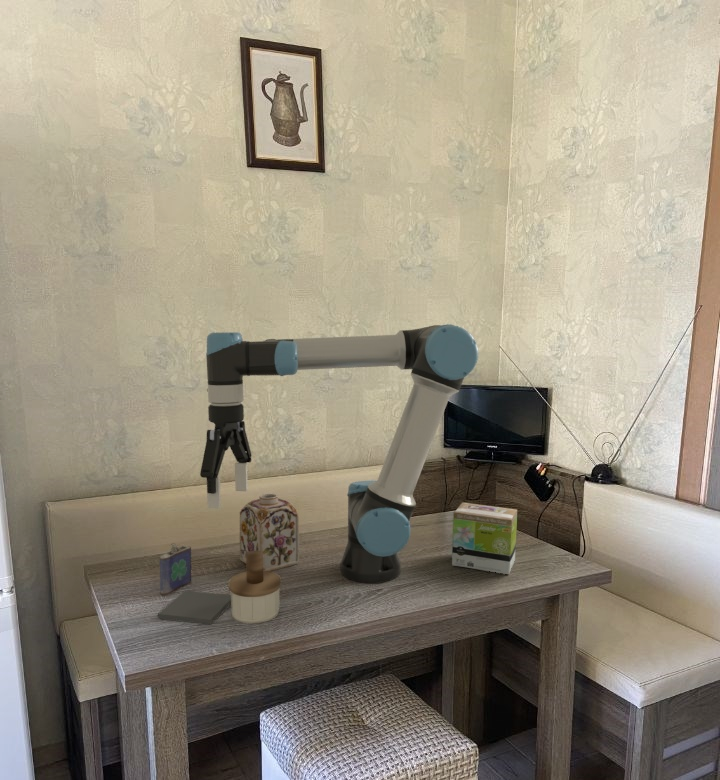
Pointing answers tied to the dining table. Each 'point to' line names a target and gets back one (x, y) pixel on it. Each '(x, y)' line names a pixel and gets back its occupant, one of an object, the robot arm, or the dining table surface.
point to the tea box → (484, 537)
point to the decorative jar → (270, 531)
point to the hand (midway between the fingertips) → (228, 498)
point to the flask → (175, 569)
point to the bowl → (255, 608)
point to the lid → (254, 578)
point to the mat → (196, 607)
